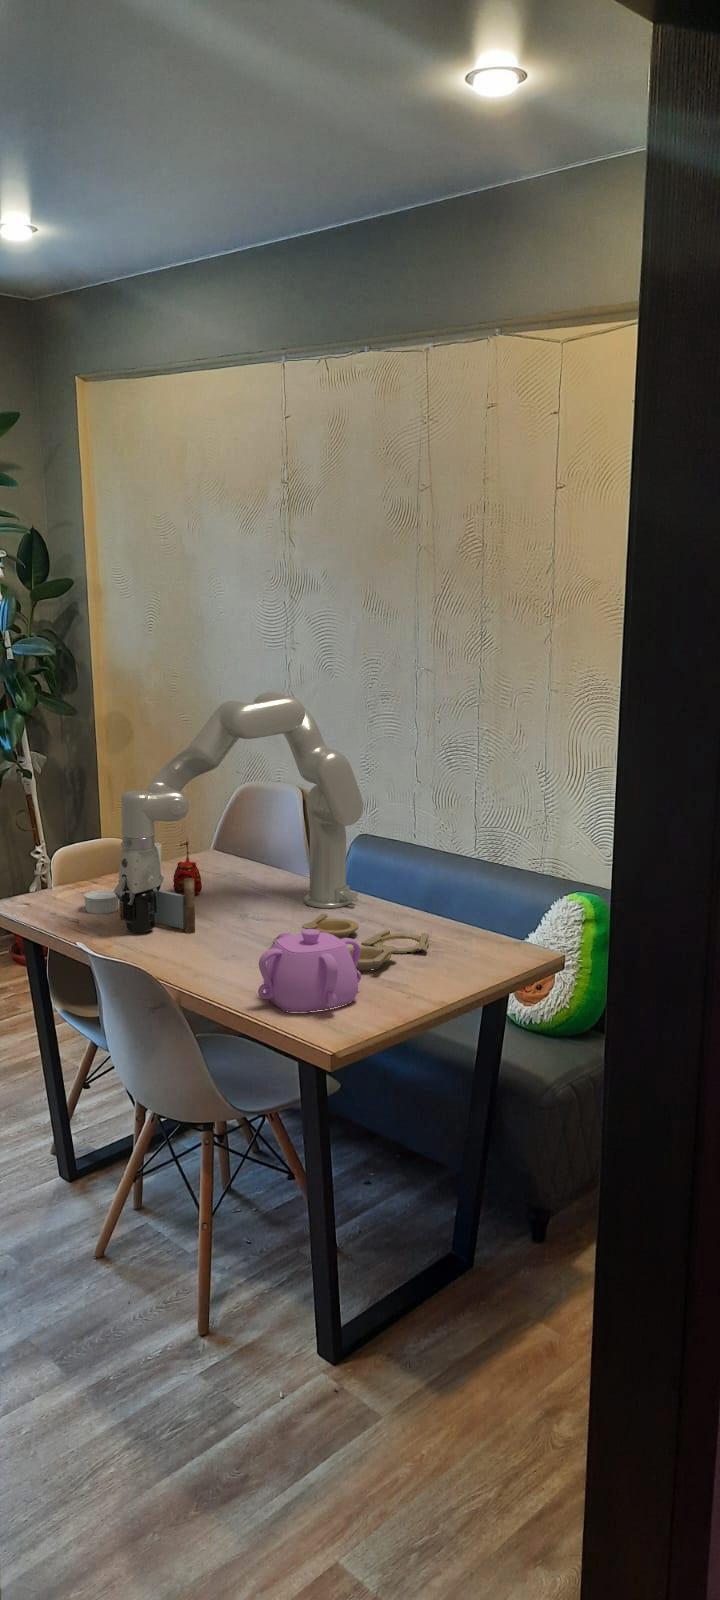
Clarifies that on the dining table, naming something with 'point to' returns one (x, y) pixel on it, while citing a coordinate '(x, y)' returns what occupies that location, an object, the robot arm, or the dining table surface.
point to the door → (170, 909)
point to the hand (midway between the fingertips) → (140, 915)
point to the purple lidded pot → (310, 971)
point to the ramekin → (101, 901)
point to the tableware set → (367, 941)
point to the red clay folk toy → (186, 875)
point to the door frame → (188, 905)
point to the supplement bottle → (142, 912)
